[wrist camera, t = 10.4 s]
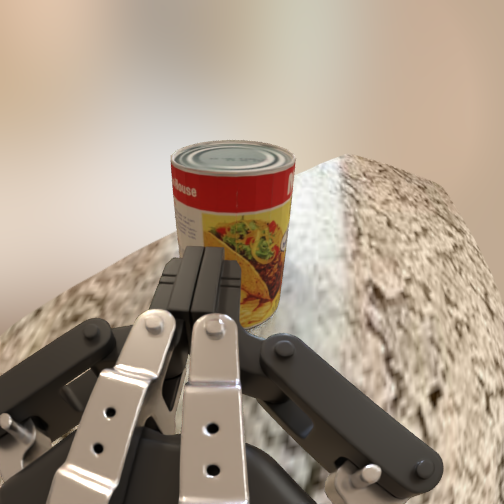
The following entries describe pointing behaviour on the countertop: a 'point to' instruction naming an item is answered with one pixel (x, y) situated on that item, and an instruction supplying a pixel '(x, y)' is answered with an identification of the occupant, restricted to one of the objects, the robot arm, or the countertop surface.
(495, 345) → the countertop surface
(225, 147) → the canned food
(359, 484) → the robot arm
